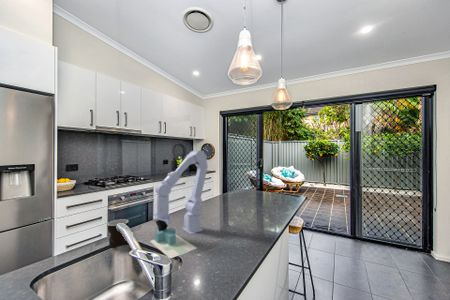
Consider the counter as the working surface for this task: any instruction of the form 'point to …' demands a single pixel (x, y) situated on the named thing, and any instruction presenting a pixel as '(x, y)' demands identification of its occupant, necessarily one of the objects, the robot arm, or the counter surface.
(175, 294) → the counter surface
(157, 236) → the tee block
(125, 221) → the coffee mug
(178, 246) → the mat
